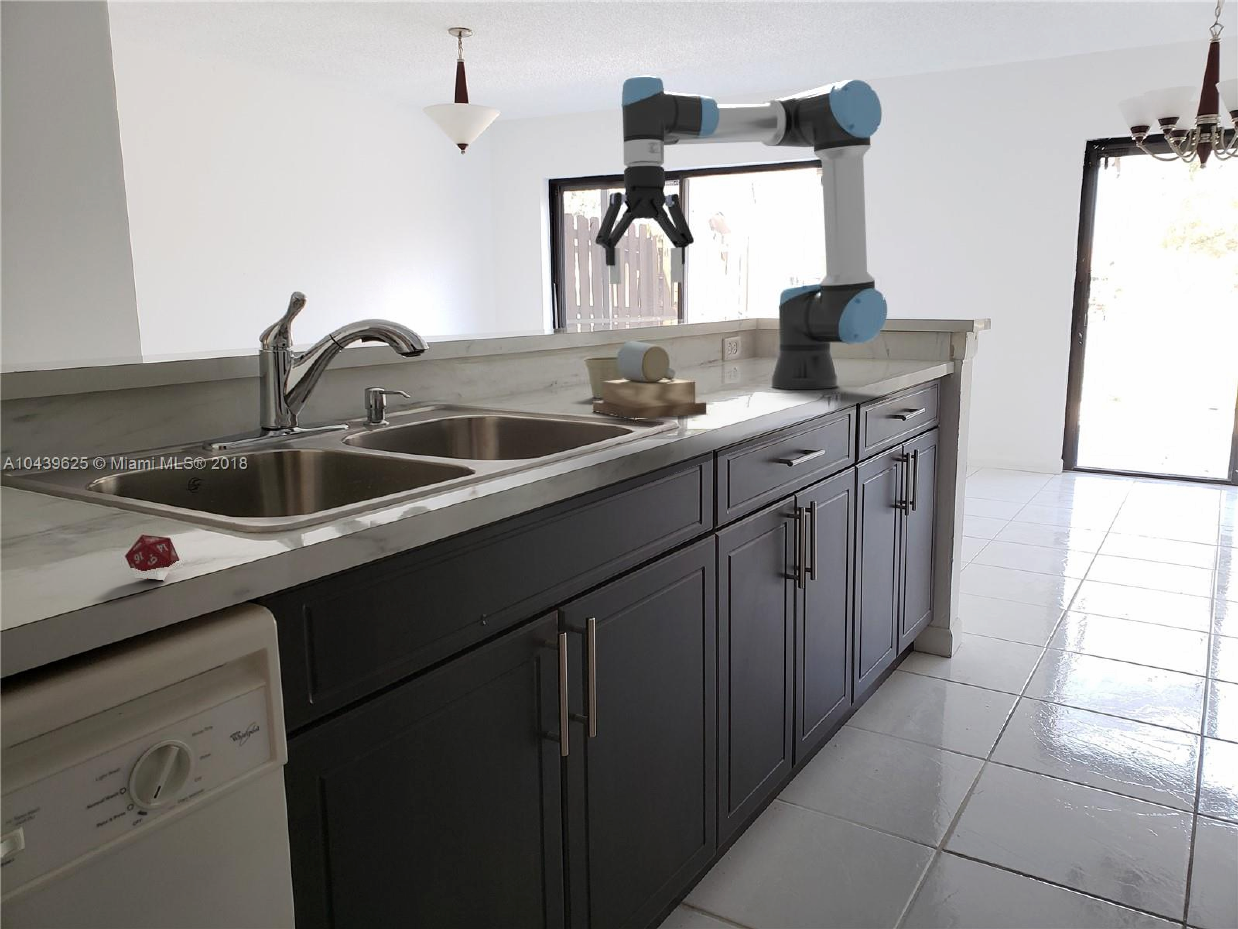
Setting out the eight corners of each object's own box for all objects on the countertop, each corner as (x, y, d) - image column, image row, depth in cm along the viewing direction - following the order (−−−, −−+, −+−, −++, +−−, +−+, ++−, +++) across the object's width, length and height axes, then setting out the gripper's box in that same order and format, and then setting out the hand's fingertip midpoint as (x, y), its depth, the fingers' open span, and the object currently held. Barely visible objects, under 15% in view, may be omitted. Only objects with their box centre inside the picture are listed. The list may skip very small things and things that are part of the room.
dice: (154, 589, 79) (149, 543, 79) (118, 583, 81) (112, 538, 80) (191, 576, 83) (186, 532, 82) (155, 571, 85) (150, 528, 84)
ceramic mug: (644, 384, 175) (643, 343, 173) (615, 381, 181) (615, 341, 180) (685, 380, 182) (685, 340, 180) (656, 378, 188) (656, 339, 186)
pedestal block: (659, 396, 191) (658, 376, 190) (695, 402, 180) (695, 381, 179) (603, 401, 184) (602, 381, 184) (637, 408, 173) (636, 386, 173)
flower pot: (578, 399, 207) (577, 359, 205) (595, 394, 215) (594, 356, 214) (617, 400, 203) (616, 360, 202) (633, 395, 212) (632, 356, 210)
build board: (661, 404, 193) (661, 395, 193) (706, 412, 179) (706, 402, 179) (593, 411, 185) (592, 401, 185) (634, 420, 172) (634, 409, 171)
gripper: (594, 161, 165) (598, 284, 169) (711, 166, 177) (711, 281, 181) (575, 166, 171) (579, 284, 175) (688, 171, 183) (690, 282, 187)
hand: (646, 283), depth 178 cm, fingers open, 13 cm apart
